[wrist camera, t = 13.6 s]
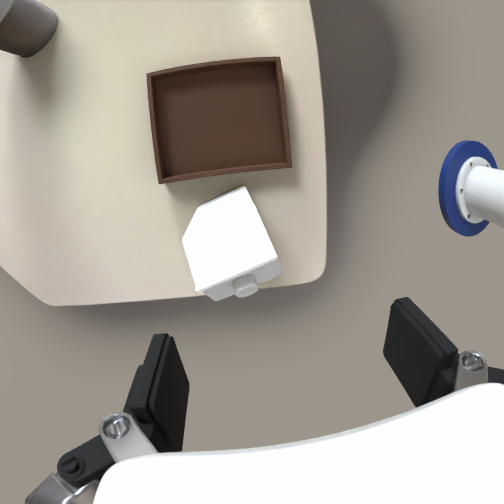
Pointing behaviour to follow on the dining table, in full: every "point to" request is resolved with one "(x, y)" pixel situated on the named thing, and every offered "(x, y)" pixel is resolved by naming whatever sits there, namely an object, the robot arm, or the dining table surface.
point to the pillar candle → (25, 26)
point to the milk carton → (229, 247)
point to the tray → (219, 118)
